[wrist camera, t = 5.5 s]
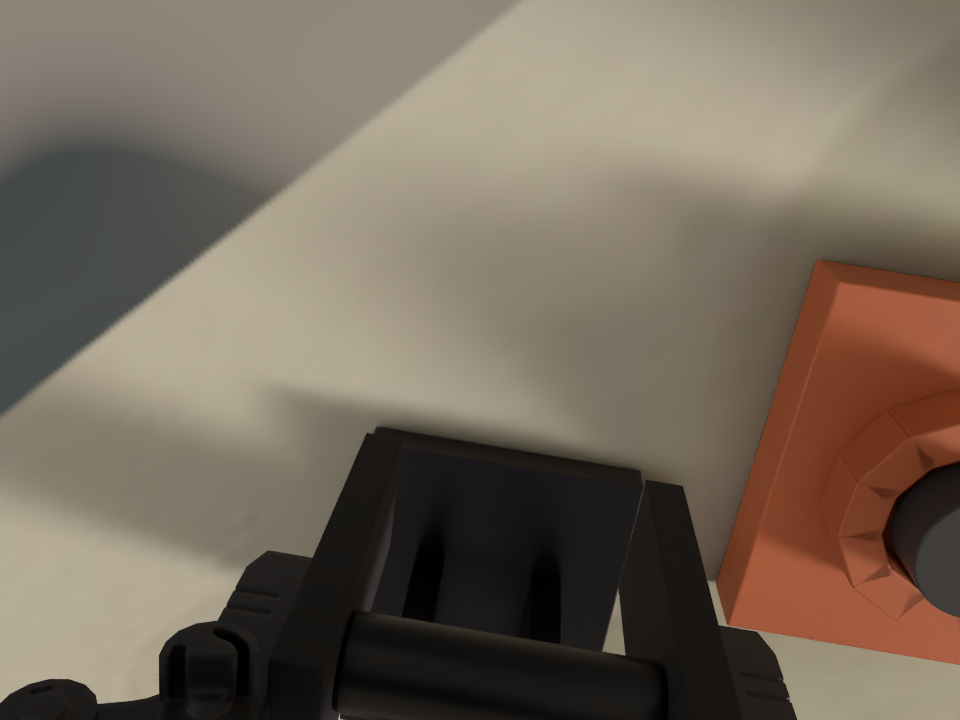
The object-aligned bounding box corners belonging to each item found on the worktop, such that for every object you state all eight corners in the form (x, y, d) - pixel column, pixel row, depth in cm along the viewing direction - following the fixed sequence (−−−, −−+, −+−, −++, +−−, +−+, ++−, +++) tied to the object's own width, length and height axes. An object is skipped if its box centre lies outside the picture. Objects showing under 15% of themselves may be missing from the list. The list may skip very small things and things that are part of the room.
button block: (815, 258, 25) (859, 301, 22) (1152, 313, 25) (1254, 365, 22) (714, 584, 30) (737, 665, 26) (997, 632, 30) (1060, 720, 26)
